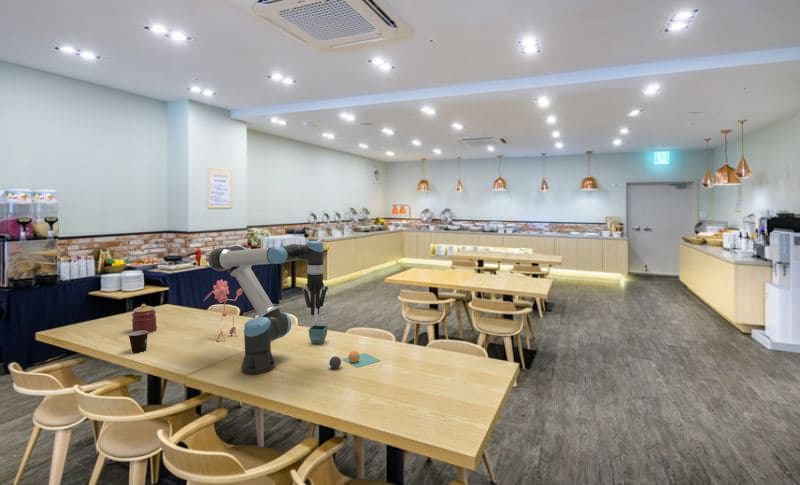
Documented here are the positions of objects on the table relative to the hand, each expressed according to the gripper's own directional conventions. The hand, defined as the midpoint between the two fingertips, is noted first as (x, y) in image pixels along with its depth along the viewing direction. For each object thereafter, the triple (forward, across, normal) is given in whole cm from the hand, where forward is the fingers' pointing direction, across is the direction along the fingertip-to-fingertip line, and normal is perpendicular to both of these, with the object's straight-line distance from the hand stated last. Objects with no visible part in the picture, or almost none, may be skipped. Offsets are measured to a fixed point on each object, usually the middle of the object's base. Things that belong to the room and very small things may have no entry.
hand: (314, 321), depth 194 cm
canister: (+25, -62, +114) cm, 132 cm away
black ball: (+19, +6, -10) cm, 22 cm away
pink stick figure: (+24, -26, +71) cm, 80 cm away
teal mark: (+21, +21, -9) cm, 31 cm away
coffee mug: (+24, -66, +75) cm, 103 cm away
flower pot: (+22, +16, +29) cm, 40 cm away
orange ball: (+18, +17, -9) cm, 26 cm away
